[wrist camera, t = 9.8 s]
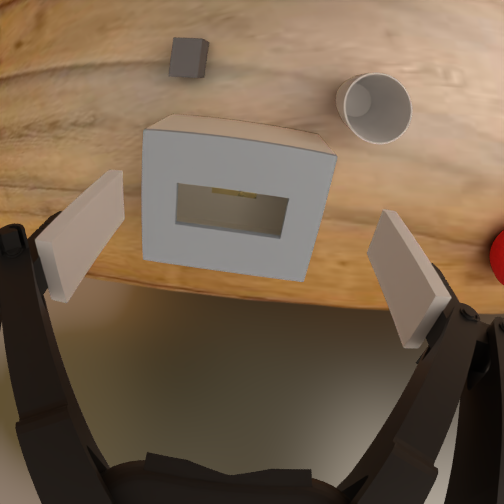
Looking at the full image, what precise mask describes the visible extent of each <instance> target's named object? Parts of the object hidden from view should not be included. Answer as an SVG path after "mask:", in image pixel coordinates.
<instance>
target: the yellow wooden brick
mask: <svg viewBox="0 0 504 504" xmlns="http://www.w3.org/2000/svg"><path fill="white" fill-rule="evenodd" d="M212 193H218V194H225V195H232V196H239V197H246V198H253V199H256V197H257V193H251V192H244V191H237V190H229V189H222V188H214V187H212Z"/></svg>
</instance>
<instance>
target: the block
mask: <svg viewBox="0 0 504 504" xmlns="http://www.w3.org/2000/svg"><path fill="white" fill-rule="evenodd" d="M208 47H209V42H208V41H206V40H204V39H198V38H173V45H172V53H171V60H170V68H169V76H172V77H189V78H202V77H204V75H205V68H206V61H207V54H208Z"/></svg>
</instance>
